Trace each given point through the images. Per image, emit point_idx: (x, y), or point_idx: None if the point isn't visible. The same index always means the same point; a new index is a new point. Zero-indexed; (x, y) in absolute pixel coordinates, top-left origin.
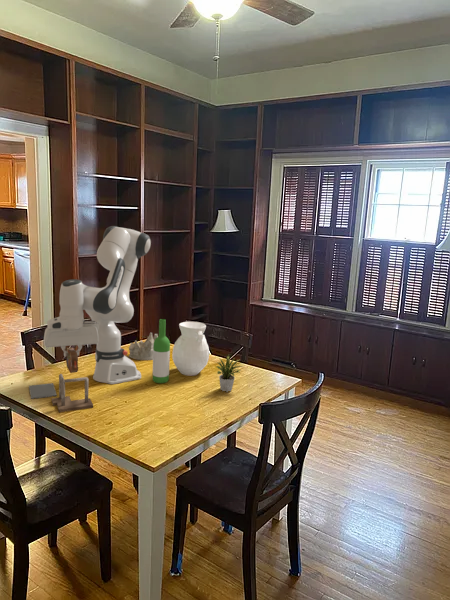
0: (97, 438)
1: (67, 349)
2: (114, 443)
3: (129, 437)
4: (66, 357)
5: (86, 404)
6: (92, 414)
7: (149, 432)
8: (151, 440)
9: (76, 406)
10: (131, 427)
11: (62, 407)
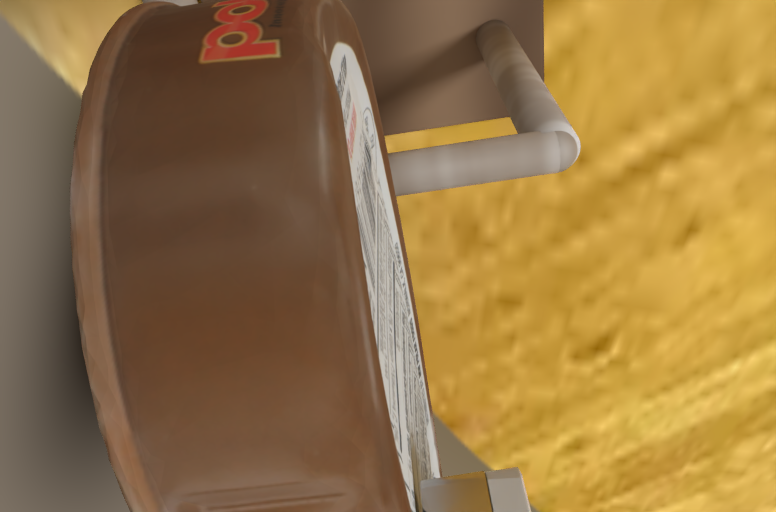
0: (494, 469)
1: (157, 352)
2: (563, 509)
3: (648, 479)
4: (167, 11)
5: (486, 91)
6: (511, 220)
7: (765, 455)
8: (734, 508)
9: (395, 118)
10: (700, 404)
11: None
